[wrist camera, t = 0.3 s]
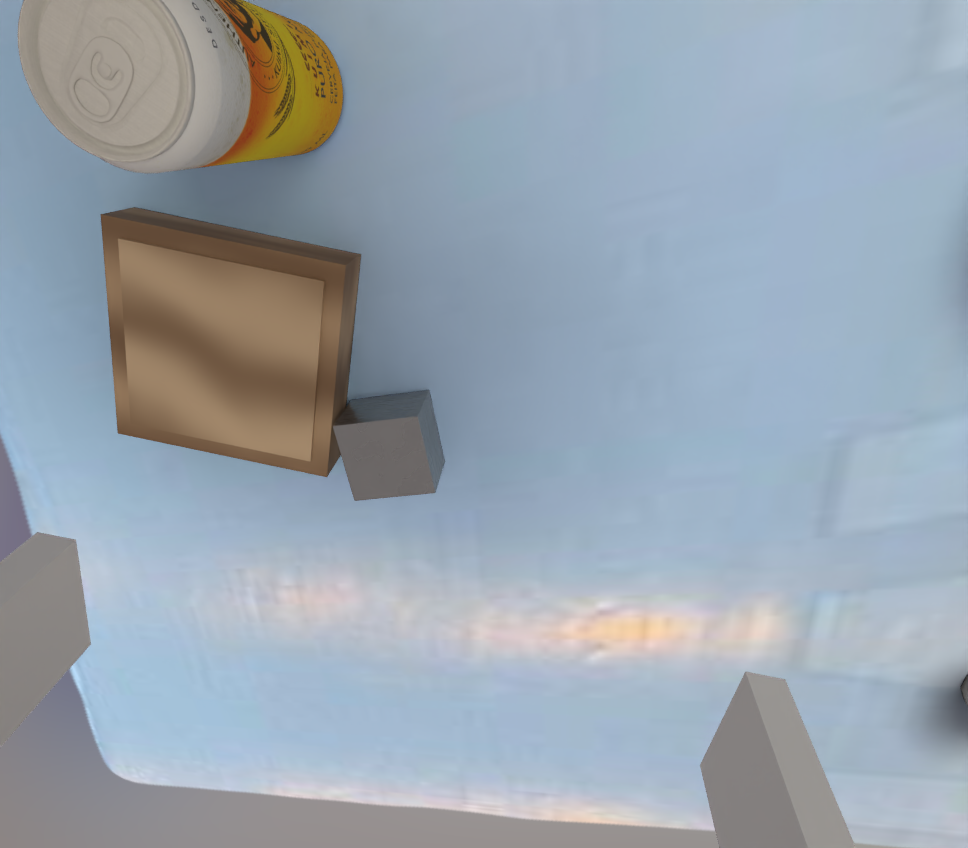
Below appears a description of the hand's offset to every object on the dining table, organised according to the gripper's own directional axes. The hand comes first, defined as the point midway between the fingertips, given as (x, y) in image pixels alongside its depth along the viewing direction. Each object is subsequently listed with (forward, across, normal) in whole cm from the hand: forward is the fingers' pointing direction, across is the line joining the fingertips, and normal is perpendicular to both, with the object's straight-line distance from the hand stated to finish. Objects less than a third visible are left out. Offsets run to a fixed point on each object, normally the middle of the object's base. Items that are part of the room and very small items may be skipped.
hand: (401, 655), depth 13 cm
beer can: (+26, -12, +9) cm, 31 cm away
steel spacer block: (+26, -5, -9) cm, 28 cm away
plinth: (+26, -15, -5) cm, 31 cm away
